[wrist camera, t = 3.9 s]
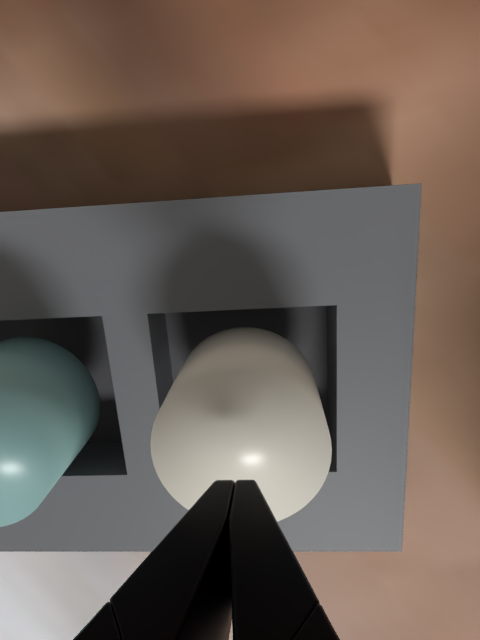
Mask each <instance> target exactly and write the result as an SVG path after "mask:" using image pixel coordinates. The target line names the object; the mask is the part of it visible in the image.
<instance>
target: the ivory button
mask: <svg viewBox="0 0 480 640" xmlns="http://www.w3.org/2000/svg"><path fill="white" fill-rule="evenodd" d="M150 445H151V456H152V460H153V465H154V467H155V470H156V473H157V475H158V477H159V479H160V481H161V483H162V484H163V485H164V487H165V488H166V490H167V491H168V492H169V493H170V495H171V496H172V497H173V498H174V499H175V500H176V501H177V502H179V503H180V504H181V505H182V506H183V507H185V508H186V509H188V510H189V509H190V508H191V507H192V506H193V505H194V504H195V503H196V501H197V500H198V499H199V498H200V497H201V496H202V495H203V494H204V492H205V491H206V490H207V489H208V488H209V487H210V486H211V485H212V483H213V482H214V481H216V480H233V481H234V482H236V481H237V480H255V481H256V482H257V484H258V486H259V488H260V490H261V492H262V494H263V496H264V498H265V499H266V501H267V503H268V505H269V507H270V509H271V511H272V513H273V515H274V517H275V519H276V520H277V522H278V521H280V520H283V519H285V518H287V517H289V516H291V515H293V514H295V513H296V512H298V511H299V510H301V509H302V508H303V507H305V506H306V505H307V504H308V503H309V502H310V501H311V500H312V499H313V498H314V497H315V495H316V494H317V493H318V492H319V490H320V489H321V487H322V485H323V483H324V482H325V480H326V477H327V475H328V472H329V468H330V464H331V456H332V445H331V437H330V433H329V429H328V425H327V421H326V418H325V414H324V410H323V407H322V403H321V400H320V396H319V392H318V389H317V385H316V381H315V378H314V374H313V372H312V369H311V366H310V365H309V363H308V361H307V359H306V358H305V357H304V355H303V354H302V353H301V351H300V350H299V349H298V348H297V347H296V346H295V345H293V344H292V343H291V342H289V341H288V340H287V339H285V338H283V337H282V336H280V335H278V334H276V333H273V332H271V331H268V330H264V329H260V328H253V327H238V328H231V329H227V330H223V331H220V332H218V333H215V334H213V335H211V336H209V337H207V338H206V339H205V340H203V341H202V342H200V343H199V344H198V345H197V346H196V347H195V348H194V349H193V350H192V351H191V353H190V354H189V355H188V357H187V358H186V360H185V362H184V364H183V365H182V367H181V369H180V371H179V373H178V375H177V377H176V379H175V381H174V383H173V385H172V387H171V388H170V390H169V392H168V394H167V396H166V398H165V400H164V402H163V404H162V406H161V408H160V410H159V412H158V413H157V416H156V418H155V421H154V424H153V428H152V432H151V442H150Z"/></svg>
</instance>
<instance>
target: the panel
mask: <svg viewBox="0 0 480 640" xmlns="http://www.w3.org/2000/svg"><path fill="white" fill-rule="evenodd" d="M421 184H422V183H421ZM421 184H406V185H391V186H376V187H362V188H347V189H332V190H317V191H303V192H288V193H273V194H258V195H244V196H229V197H214V198H199V199H185V200H170V201H155V202H140V203H125V204H111V205H96V206H81V207H66V208H52V209H37V210H22V211H7V212H0V341H2V340H5V339H9V338H13V337H21V336H22V337H36V338H41V339H45V340H48V341H51V342H53V343H56V344H58V345H59V346H61V347H63V348H65V349H66V350H68V351H69V352H71V353H72V354H73V355H74V356H75V357H77V358H78V359H79V360H80V361H81V362H82V363H83V365H84V366H85V367H86V368H87V370H88V371H89V373H90V374H91V376H92V378H93V380H94V381H95V384H96V386H97V389H98V393H99V397H100V417H99V422H98V425H97V427H96V429H95V431H94V433H93V435H92V436H91V437H90V439H89V440H88V441H87V443H86V444H85V445H84V447H83V448H82V449H81V451H80V452H79V453H78V455H77V456H76V457H75V459H74V460H73V461H72V463H71V464H70V465H69V467H68V468H67V469H66V471H65V472H64V473H63V475H62V476H61V477H60V479H59V480H58V481H57V483H56V484H55V485H54V487H53V488H52V489H51V491H50V492H49V493H48V494H47V496H46V497H45V498H44V500H43V501H42V502H41V504H40V505H39V506H38V508H37V509H36V510H35V511H33V512H32V513H31V514H30V515H29V516H27V517H26V518H24V519H22V520H20V521H18V522H16V523H14V524H10V525H7V526H3V527H0V551H153V550H154V549H155V548H156V547H157V545H158V544H159V543H160V542H161V541H162V540H163V539H164V538H165V536H166V535H167V534H168V533H169V532H170V531H171V530H172V529H173V527H174V526H175V525H176V524H177V523H178V522H179V521H180V519H181V518H182V517H183V516H184V515H185V514H186V513H187V512H188V509H186V508H185V507H183V506H182V505H181V504H180V503H179V502H177V501H176V500H175V499H174V498H173V497H172V496H171V495H170V493H169V492H168V491H167V490H166V488H165V487H164V485H163V484H162V483H161V481H160V479H159V477H158V475H157V473H156V470H155V467H154V465H153V460H152V456H151V445H150V442H151V432H152V428H153V424H154V421H155V418H156V416H157V413H158V412H159V410H160V408H161V406H162V404H163V402H164V400H165V398H166V396H167V394H168V392H169V390H170V388H171V387H172V385H173V383H174V381H175V379H176V377H177V375H178V373H179V371H180V369H181V367H182V365H183V364H184V362H185V360H186V358H187V357H188V355H189V354H190V353H191V351H192V350H193V349H194V348H195V347H196V346H197V345H198V344H199V343H200V342H202V341H203V340H205V339H206V338H207V337H209V336H211V335H213V334H215V333H218V332H220V331H223V330H227V329H231V328H238V327H253V328H260V329H264V330H268V331H271V332H273V333H276V334H278V335H280V336H282V337H283V338H285V339H287V340H288V341H289V342H291V343H292V344H293V345H295V346H296V347H297V348H298V349H299V350H300V351H301V353H302V354H303V355H304V357H305V358H306V359H307V361H308V363H309V365H310V366H311V369H312V372H313V374H314V378H315V381H316V385H317V389H318V392H319V396H320V400H321V403H322V407H323V410H324V414H325V418H326V421H327V425H328V429H329V433H330V437H331V445H332V456H331V464H330V468H329V472H328V475H327V477H326V480H325V482H324V483H323V485H322V487H321V489H320V490H319V492H318V493H317V494H316V495H315V497H314V498H313V499H312V500H311V501H310V502H309V503H308V504H307V505H306V506H305V507H303V508H302V509H301V510H299V511H298V512H296V513H295V514H293V515H291V516H289V517H287V518H285V519H283V520H280V521H278V524H279V526H280V528H281V530H282V532H283V534H284V536H285V538H286V539H287V541H288V543H289V545H290V547H291V549H292V551H402V541H403V522H404V503H405V484H406V466H407V447H408V428H409V409H410V390H411V372H412V353H413V334H414V315H415V296H416V278H417V259H418V240H419V221H420V203H421Z"/></svg>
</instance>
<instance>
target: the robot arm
mask: <svg viewBox="0 0 480 640" xmlns="http://www.w3.org/2000/svg"><path fill="white" fill-rule="evenodd" d="M231 621H232V625H233V640H340V639H339V637H338V635H337V634H336V632H335V630H334V628H333V627H332V625H331V623H330V621H329V619H328V617H327V615H326V613H325V611H324V609H323V608H322V606H321V605H320V604H319V600H318V599H317V597H316V595H315V593H314V591H313V589H312V587H311V585H310V583H309V581H308V579H307V578H306V576H305V574H304V572H303V570H302V568H301V566H300V564H299V562H298V560H297V559H296V557H295V555H294V553H293V551H292V549H291V547H290V545H289V543H288V541H287V539H286V538H285V536H284V534H283V532H282V530H281V528H280V526H279V524H278V522H277V520H276V519H275V517H274V515H273V513H272V511H271V509H270V507H269V505H268V503H267V501H266V499H265V498H264V496H263V494H262V492H261V490H260V488H259V486H258V484H257V482H256V481H255V480H237V481H236V482H234V481H233V480H216V481H214V482H213V483H212V485H211V486H210V487H209V488H208V489H207V490H206V491H205V492H204V494H203V495H202V496H201V497H200V498H199V499H198V500H197V501H196V503H195V504H194V505H193V506H192V507H191V508H190V509H189V510H188V512H187V513H186V514H185V515H184V516H183V517H182V518H181V519H180V521H179V522H178V523H177V524H176V525H175V526H174V527H173V529H172V530H171V531H170V532H169V533H168V534H167V535H166V536H165V538H164V539H163V540H162V541H161V542H160V543H159V544H158V545H157V547H156V548H155V549H154V550H153V551H152V552H151V553H150V554H149V556H148V557H147V558H146V559H145V560H144V561H143V562H142V563H141V565H140V566H139V567H138V568H137V569H136V570H135V571H134V573H133V574H132V575H131V576H130V577H129V578H128V579H127V580H126V582H125V583H124V584H123V585H122V586H121V587H120V588H119V589H118V591H117V592H116V593H115V594H114V595H113V596H112V597H111V599H110V602H107V603H106V604H105V605H104V606H103V607H102V608H101V609H100V611H99V612H98V613H97V614H96V615H95V616H94V617H93V619H92V620H91V621H90V622H89V623H88V624H87V625H86V626H85V627H84V628H83V629H82V630H81V631H80V633H79V634H78V635H77V636H76V637H75V638H74V639H73V640H229V633H230V627H231Z"/></svg>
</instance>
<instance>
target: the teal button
mask: <svg viewBox="0 0 480 640" xmlns="http://www.w3.org/2000/svg"><path fill="white" fill-rule="evenodd" d="M99 417H100V397H99V393H98V389H97V386H96V384H95V381H94V380H93V378H92V376H91V374H90V373H89V371H88V370H87V368H86V367H85V366H84V365H83V363H82V362H81V361H80V360H79V359H78V358H77V357H75V356H74V355H73V354H72V353H71V352H69V351H68V350H66V349H65V348H63V347H61V346H59V345H58V344H56V343H53V342H51V341H48V340H45V339H41V338H36V337H22V336H21V337H13V338H9V339H5V340H2V341H0V527H3V526H7V525H10V524H14V523H16V522H18V521H20V520H22V519H24V518H26V517H27V516H29V515H30V514H31V513H32V512H33V511H35V510H36V509H37V508H38V506H39V505H40V504H41V502H42V501H43V500H44V498H45V497H46V496H47V494H48V493H49V492H50V491H51V489H52V488H53V487H54V485H55V484H56V483H57V481H58V480H59V479H60V477H61V476H62V475H63V473H64V472H65V471H66V469H67V468H68V467H69V465H70V464H71V463H72V461H73V460H74V459H75V457H76V456H77V455H78V453H79V452H80V451H81V449H82V448H83V447H84V445H85V444H86V443H87V441H88V440H89V439H90V437H91V436H92V435H93V433H94V431H95V429H96V427H97V425H98V422H99Z"/></svg>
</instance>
